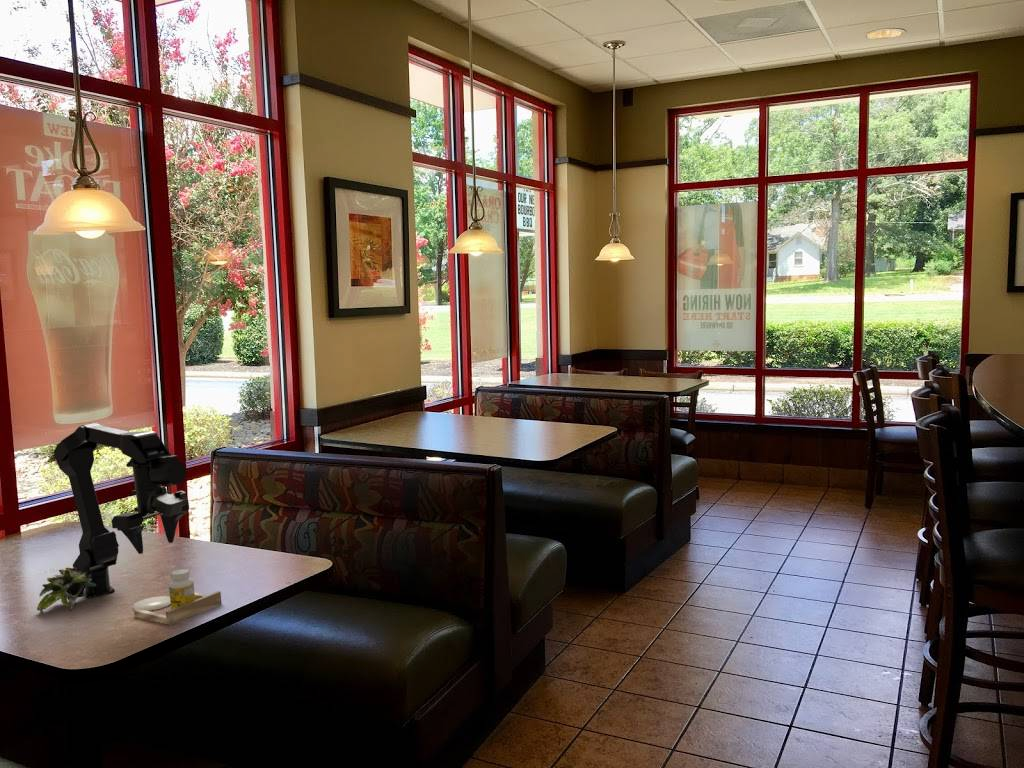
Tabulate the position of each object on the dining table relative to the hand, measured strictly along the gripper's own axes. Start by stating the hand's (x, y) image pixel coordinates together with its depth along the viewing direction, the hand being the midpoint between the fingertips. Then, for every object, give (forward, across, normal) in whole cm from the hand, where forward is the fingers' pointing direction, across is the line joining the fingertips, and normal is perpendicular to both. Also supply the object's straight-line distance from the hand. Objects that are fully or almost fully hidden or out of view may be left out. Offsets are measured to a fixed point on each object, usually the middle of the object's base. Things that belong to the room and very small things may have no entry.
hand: (156, 548), depth 198 cm
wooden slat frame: (+14, -3, -8) cm, 16 cm away
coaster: (+14, -2, +1) cm, 14 cm away
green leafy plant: (+13, -9, +21) cm, 26 cm away
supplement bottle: (+14, -3, -10) cm, 17 cm away
